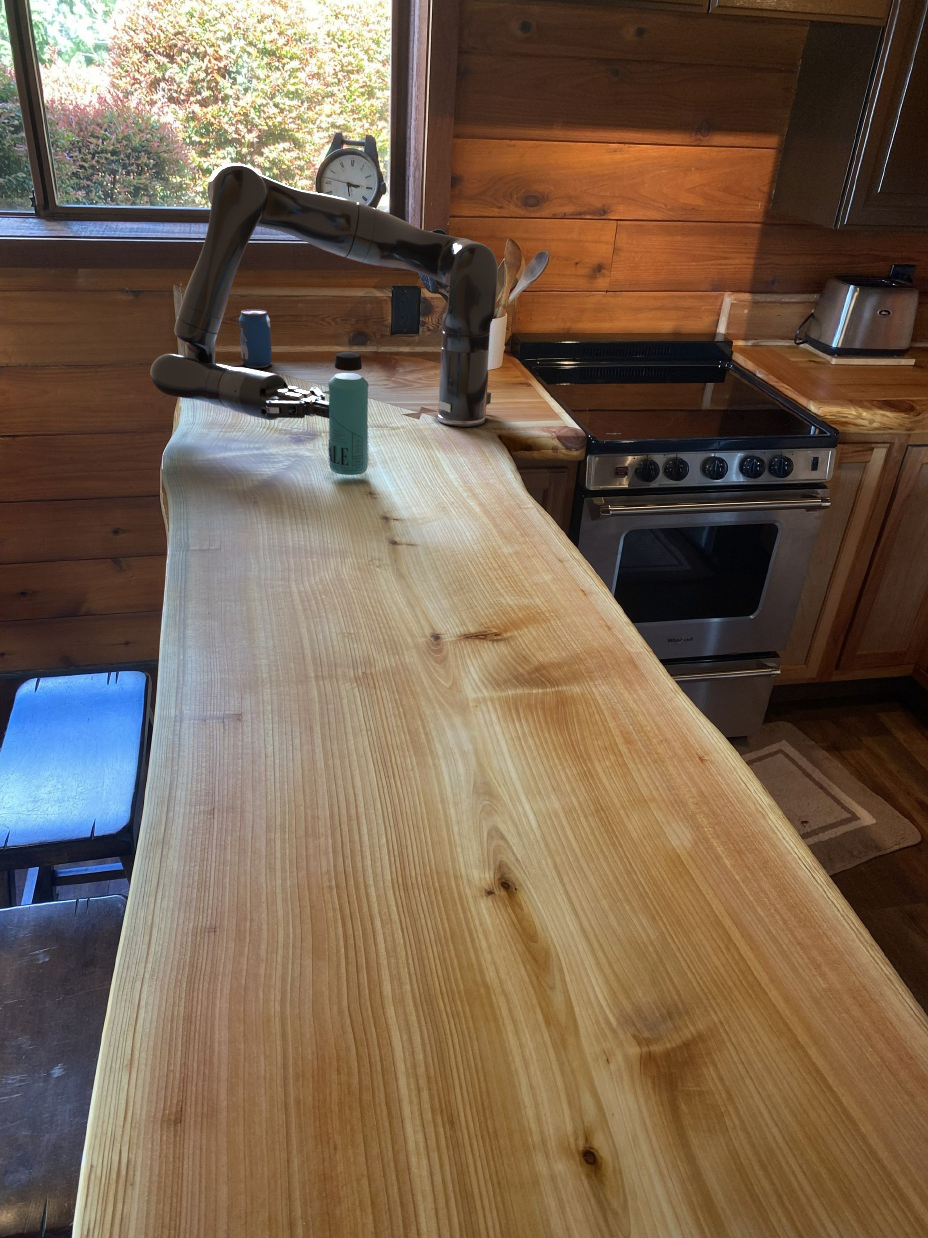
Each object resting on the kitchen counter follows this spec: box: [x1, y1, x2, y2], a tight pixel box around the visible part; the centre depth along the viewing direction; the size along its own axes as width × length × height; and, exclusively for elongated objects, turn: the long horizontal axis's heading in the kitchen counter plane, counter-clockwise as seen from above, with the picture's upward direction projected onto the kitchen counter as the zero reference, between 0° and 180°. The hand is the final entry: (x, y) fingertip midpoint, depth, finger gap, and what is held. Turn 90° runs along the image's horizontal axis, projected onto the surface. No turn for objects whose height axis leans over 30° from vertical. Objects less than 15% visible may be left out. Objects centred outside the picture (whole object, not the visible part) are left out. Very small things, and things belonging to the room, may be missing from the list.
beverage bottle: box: [327, 351, 370, 476], centre depth 142 cm, size 6×7×20 cm
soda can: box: [238, 308, 273, 369], centre depth 207 cm, size 7×7×12 cm
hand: (336, 411), depth 143 cm, fingers closed
